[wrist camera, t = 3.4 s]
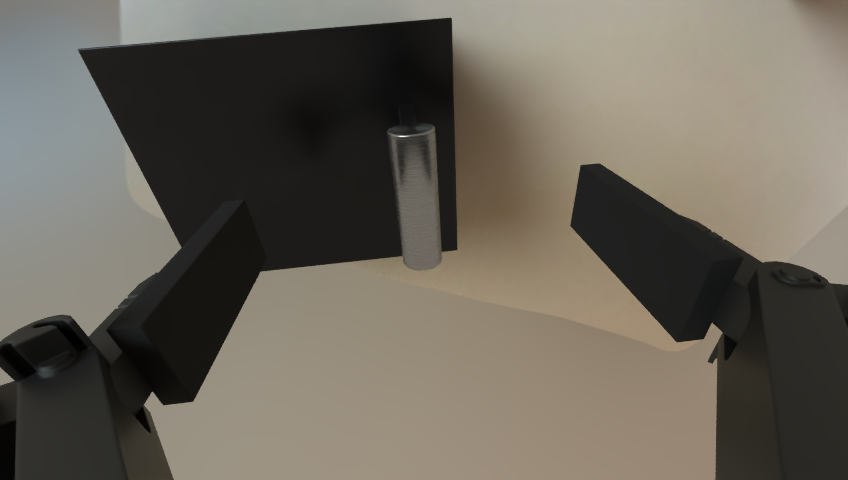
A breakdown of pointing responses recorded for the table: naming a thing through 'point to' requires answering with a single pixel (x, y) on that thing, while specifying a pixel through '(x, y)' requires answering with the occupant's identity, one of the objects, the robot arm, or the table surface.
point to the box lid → (298, 136)
